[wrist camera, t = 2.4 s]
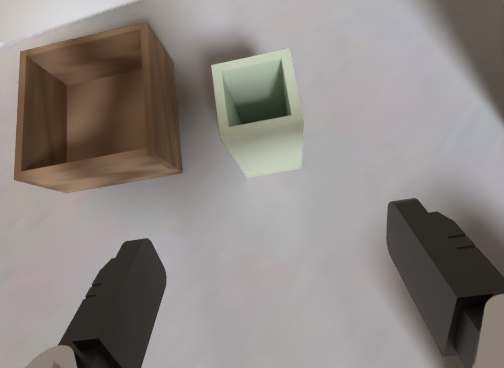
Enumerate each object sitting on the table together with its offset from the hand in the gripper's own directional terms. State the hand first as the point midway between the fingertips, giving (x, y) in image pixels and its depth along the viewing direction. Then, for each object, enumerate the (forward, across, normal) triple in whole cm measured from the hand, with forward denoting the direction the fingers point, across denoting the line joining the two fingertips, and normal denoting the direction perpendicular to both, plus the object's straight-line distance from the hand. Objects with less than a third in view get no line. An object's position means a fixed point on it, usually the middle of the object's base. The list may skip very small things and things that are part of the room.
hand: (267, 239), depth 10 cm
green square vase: (+18, 0, +5) cm, 19 cm away
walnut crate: (+21, +14, +1) cm, 26 cm away
